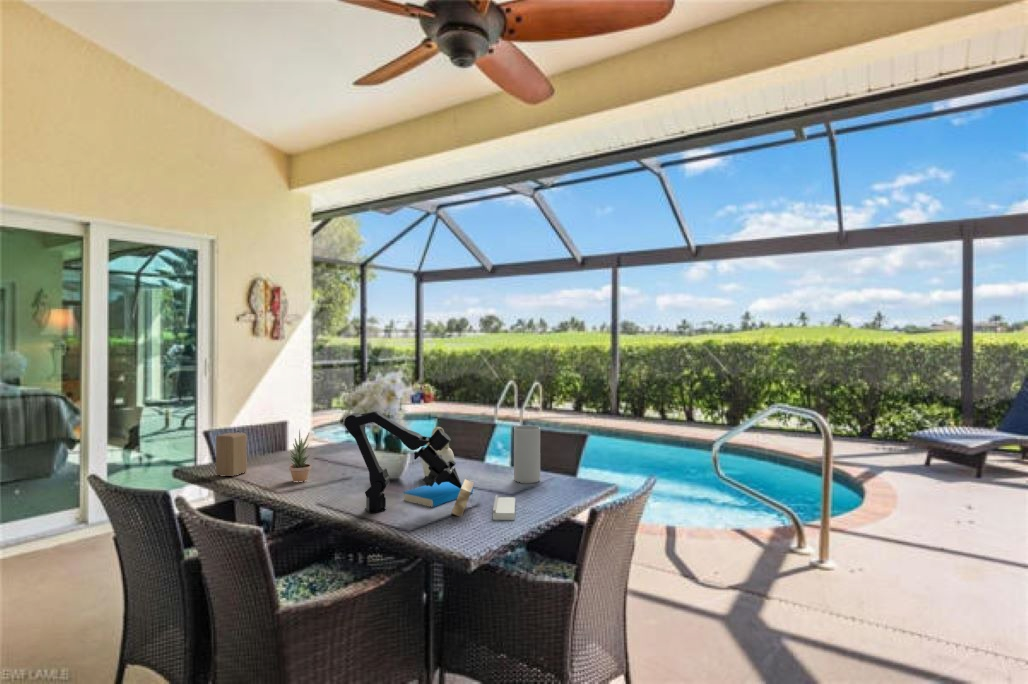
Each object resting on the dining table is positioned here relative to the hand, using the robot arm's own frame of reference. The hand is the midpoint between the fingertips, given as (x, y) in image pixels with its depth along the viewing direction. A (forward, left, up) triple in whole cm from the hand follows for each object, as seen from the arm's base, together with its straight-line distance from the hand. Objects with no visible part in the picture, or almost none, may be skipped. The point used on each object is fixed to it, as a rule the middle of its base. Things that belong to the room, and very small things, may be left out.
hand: (461, 487), depth 214 cm
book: (+2, +22, -10) cm, 25 cm away
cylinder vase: (+49, +22, -9) cm, 55 cm away
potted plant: (-39, +83, -9) cm, 92 cm away
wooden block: (-63, +115, -9) cm, 131 cm away
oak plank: (-1, +1, -9) cm, 9 cm away
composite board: (+14, -10, -9) cm, 19 cm away
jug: (+16, +49, -9) cm, 53 cm away
